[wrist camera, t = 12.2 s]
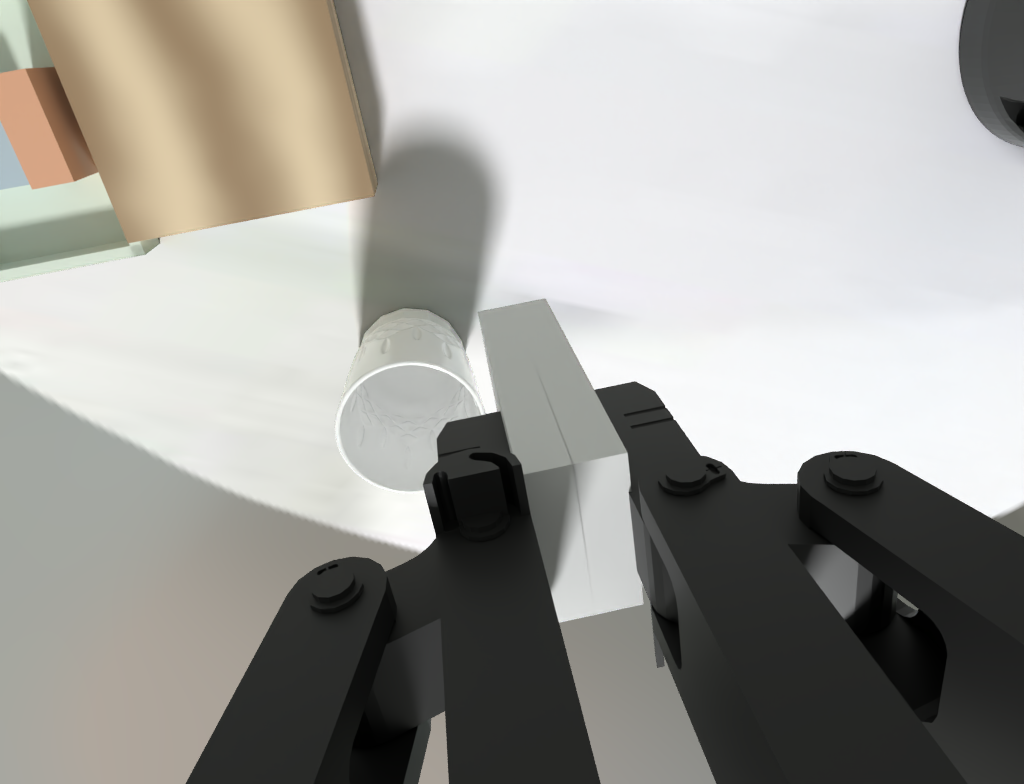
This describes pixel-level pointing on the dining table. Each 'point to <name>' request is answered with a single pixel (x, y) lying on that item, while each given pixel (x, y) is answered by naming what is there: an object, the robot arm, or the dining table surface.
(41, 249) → the tray
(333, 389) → the dining table surface
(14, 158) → the tile
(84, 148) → the tile
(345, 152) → the tan square panel
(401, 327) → the white cup
